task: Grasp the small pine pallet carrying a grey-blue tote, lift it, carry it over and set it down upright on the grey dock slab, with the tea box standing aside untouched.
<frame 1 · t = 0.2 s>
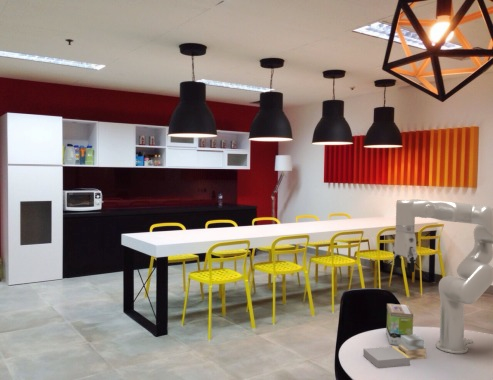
hand: (403, 269, 187), 36 cm above the table, tool pointing down, fingers open, 9 cm apart
tea box: (398, 340, 203), on the table
dock: (386, 360, 180), on the table
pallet: (411, 356, 184), on the table
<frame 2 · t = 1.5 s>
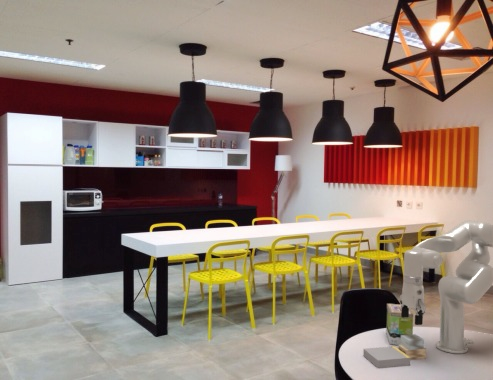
hand: (411, 320, 184), 15 cm above the table, tool pointing down, fingers open, 9 cm apart
nothing on the table moved.
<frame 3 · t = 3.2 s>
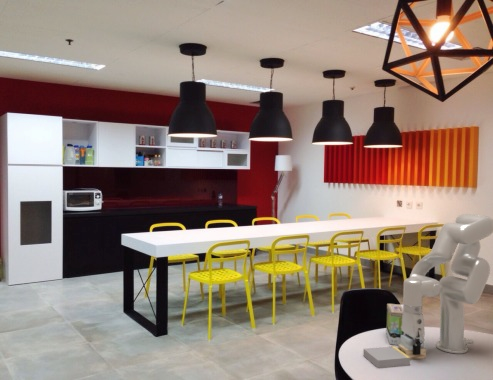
hand: (411, 350, 184), 2 cm above the table, tool pointing down, fingers closed on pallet, 6 cm apart
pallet: (411, 356, 184), on the table, touching gripper
everything else where it was.
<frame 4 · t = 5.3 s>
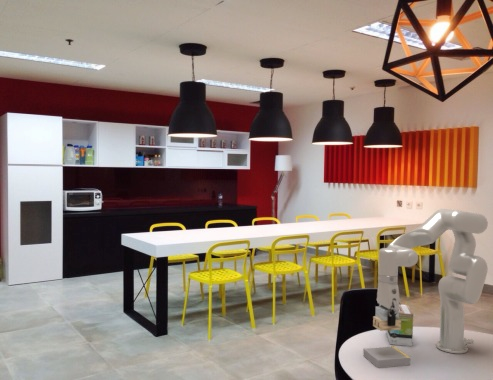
hand: (386, 322, 179), 16 cm above the table, tool pointing down, fingers closed on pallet, 6 cm apart
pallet: (386, 327, 179), point 13 cm above the table, touching gripper
everything else where it was.
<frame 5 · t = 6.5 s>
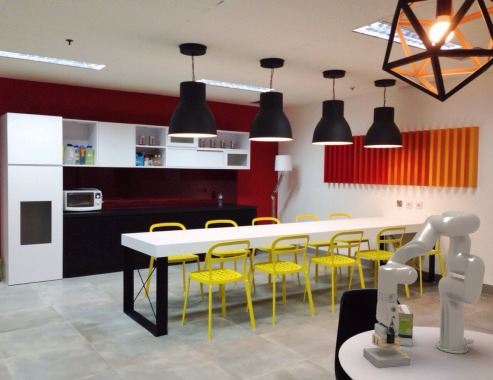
hand: (386, 339, 179), 8 cm above the table, tool pointing down, fingers closed on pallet, 6 cm apart
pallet: (385, 345, 179), point 6 cm above the table, touching gripper
everything else where it was.
when the fingers open (6 cm above the table, at t = 7.3 s): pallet drops 1 cm, resting on dock.
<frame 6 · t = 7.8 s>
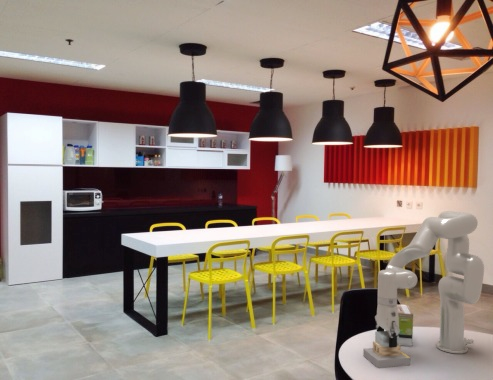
hand: (386, 342, 179), 7 cm above the table, tool pointing down, fingers open, 9 cm apart
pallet: (386, 353, 180), point 3 cm above the table, touching dock
everything else where it was.
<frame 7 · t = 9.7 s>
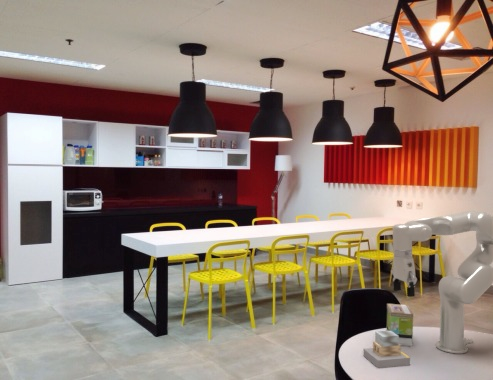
hand: (403, 293, 188), 25 cm above the table, tool pointing down, fingers open, 9 cm apart
nothing on the table moved.
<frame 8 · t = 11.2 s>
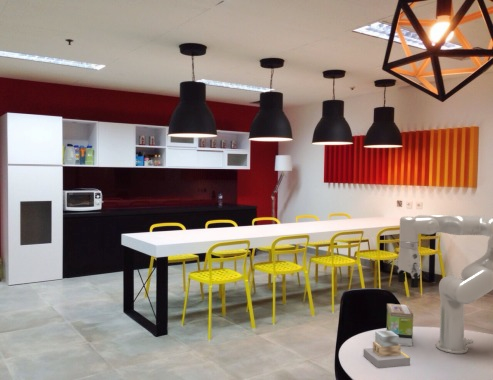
hand: (407, 284, 191), 28 cm above the table, tool pointing down, fingers open, 9 cm apart
nothing on the table moved.
at the end: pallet inside the target area on the dock (0.1 cm from its centre), point 3.0 cm above the dock's base; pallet tilted 0°; the gripper is holding nothing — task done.
